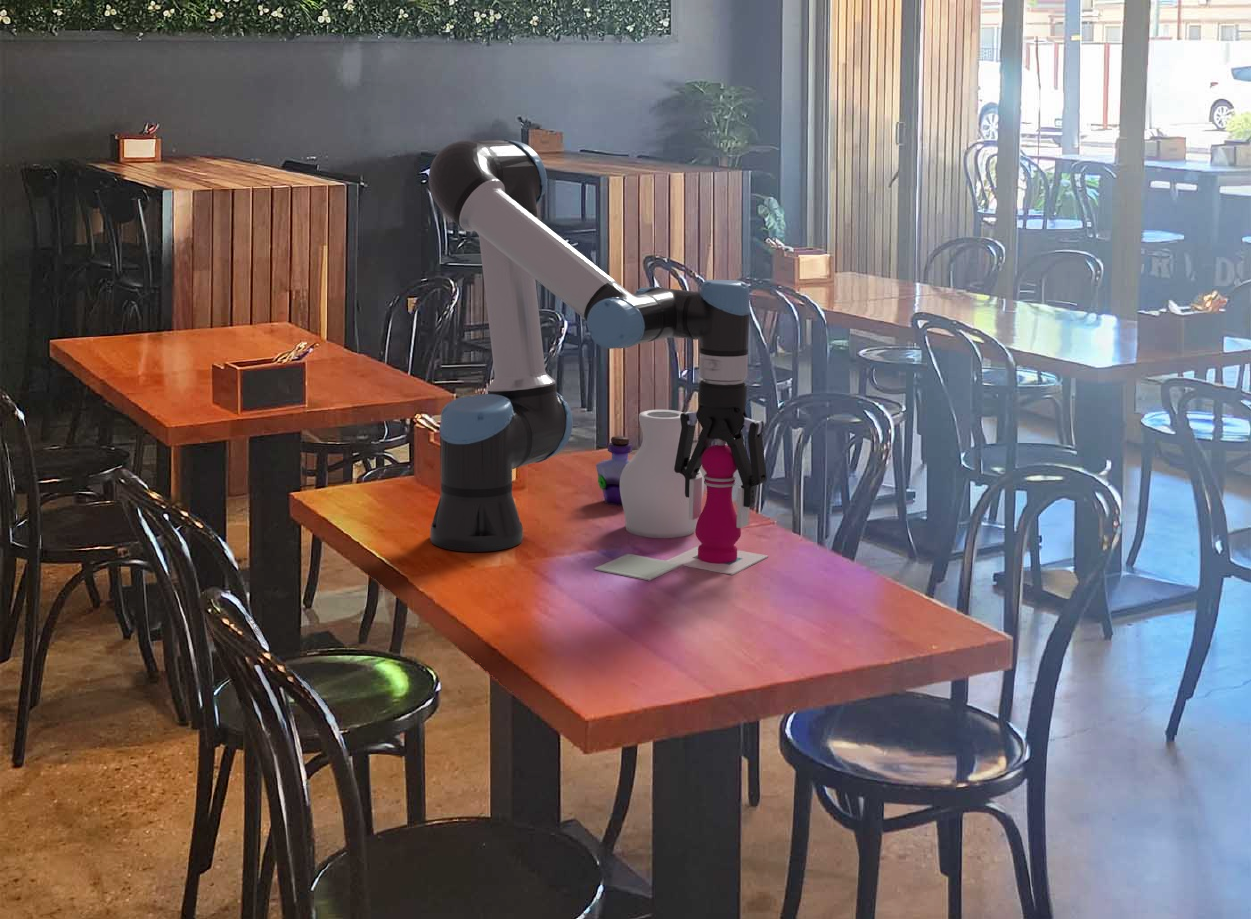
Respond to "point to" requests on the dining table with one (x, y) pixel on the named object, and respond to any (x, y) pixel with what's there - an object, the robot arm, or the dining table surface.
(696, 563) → the tile
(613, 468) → the potion bottle
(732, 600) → the dining table surface
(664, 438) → the vase
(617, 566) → the coaster
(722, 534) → the pepper mill
